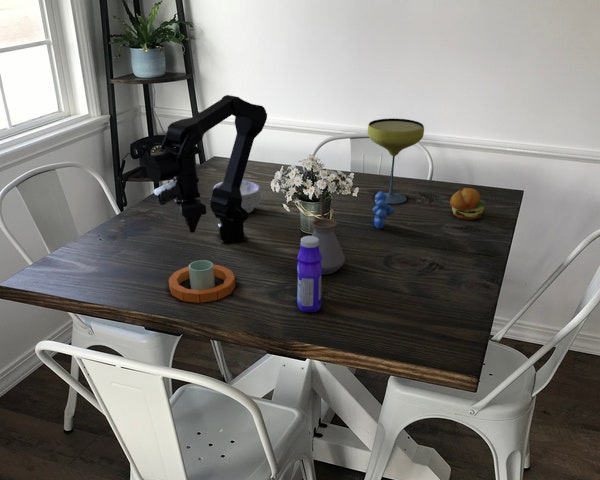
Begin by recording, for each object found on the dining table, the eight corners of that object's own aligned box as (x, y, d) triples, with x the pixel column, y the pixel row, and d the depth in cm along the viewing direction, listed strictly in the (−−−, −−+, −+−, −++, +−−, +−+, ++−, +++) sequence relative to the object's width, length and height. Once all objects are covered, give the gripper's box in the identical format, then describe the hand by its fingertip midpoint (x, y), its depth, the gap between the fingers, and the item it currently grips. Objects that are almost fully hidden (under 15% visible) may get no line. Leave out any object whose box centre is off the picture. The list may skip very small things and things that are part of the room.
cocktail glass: (365, 188, 221) (369, 117, 209) (416, 191, 219) (423, 119, 207) (362, 206, 206) (366, 130, 194) (418, 209, 204) (425, 132, 191)
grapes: (394, 236, 184) (397, 197, 178) (371, 235, 185) (374, 197, 179) (392, 221, 194) (395, 184, 189) (370, 221, 195) (372, 184, 189)
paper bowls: (270, 207, 205) (269, 184, 201) (242, 222, 194) (241, 198, 190) (233, 199, 212) (232, 176, 208) (204, 212, 201) (202, 189, 197)
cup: (212, 279, 160) (210, 258, 157) (217, 290, 155) (215, 268, 152) (188, 283, 158) (186, 262, 155) (193, 294, 153) (191, 272, 150)
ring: (226, 268, 165) (226, 260, 164) (241, 296, 152) (240, 287, 151) (166, 277, 161) (165, 269, 160) (175, 306, 148) (174, 298, 147)
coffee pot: (346, 277, 161) (348, 223, 154) (301, 277, 161) (301, 223, 154) (341, 244, 180) (342, 194, 172) (301, 244, 179) (301, 194, 172)
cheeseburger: (491, 216, 198) (491, 188, 192) (468, 230, 194) (467, 203, 188) (467, 206, 205) (466, 179, 199) (444, 220, 202) (442, 193, 195)
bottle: (295, 299, 151) (295, 233, 142) (319, 298, 151) (320, 232, 143) (298, 314, 144) (298, 246, 136) (322, 313, 145) (324, 245, 136)
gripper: (149, 165, 166) (156, 220, 174) (159, 187, 151) (165, 246, 159) (191, 161, 170) (195, 215, 177) (204, 182, 154) (208, 240, 162)
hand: (190, 228), depth 169 cm, fingers open, 4 cm apart
